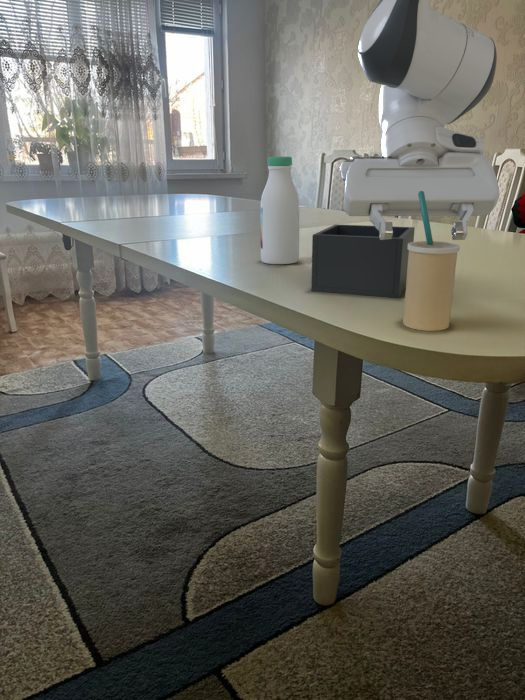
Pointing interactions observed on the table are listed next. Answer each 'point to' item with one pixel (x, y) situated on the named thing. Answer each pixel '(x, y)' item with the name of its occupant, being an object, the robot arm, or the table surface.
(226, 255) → the table surface
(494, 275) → the table surface
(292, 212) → the milk bottle
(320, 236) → the bin
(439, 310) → the takeaway cup
